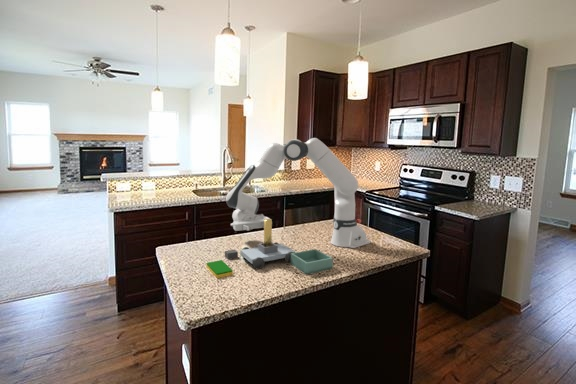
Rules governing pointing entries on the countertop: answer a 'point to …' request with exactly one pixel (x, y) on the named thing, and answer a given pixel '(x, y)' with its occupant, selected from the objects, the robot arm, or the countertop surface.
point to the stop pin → (267, 232)
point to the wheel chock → (231, 254)
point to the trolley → (266, 254)
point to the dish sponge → (219, 269)
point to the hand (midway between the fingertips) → (258, 227)
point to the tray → (311, 261)
